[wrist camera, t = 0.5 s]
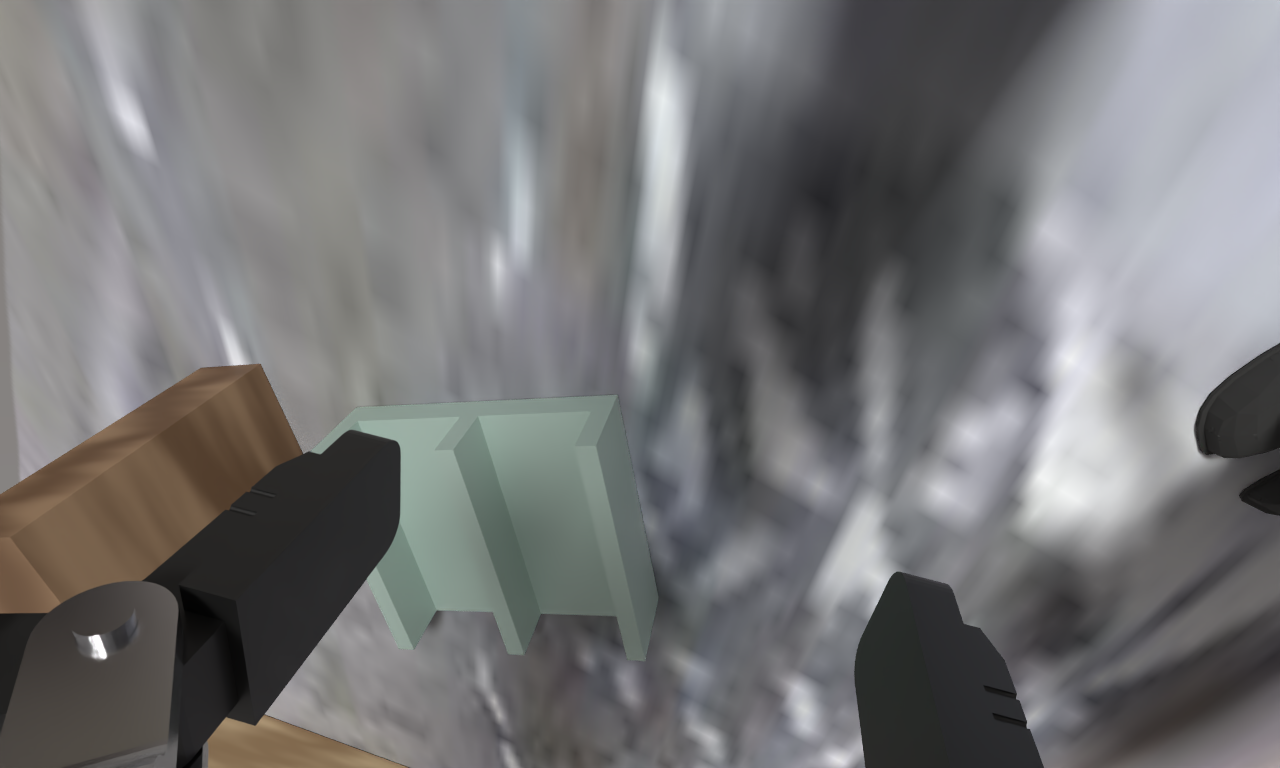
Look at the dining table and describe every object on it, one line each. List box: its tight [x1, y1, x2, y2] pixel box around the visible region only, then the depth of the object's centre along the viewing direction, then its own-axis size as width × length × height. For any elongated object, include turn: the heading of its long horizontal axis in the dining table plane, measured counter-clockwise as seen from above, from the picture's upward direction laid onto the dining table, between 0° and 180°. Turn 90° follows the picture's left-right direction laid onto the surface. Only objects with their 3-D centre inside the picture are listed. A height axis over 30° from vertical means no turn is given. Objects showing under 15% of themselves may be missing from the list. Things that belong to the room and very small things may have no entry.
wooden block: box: [0, 364, 303, 613], centre depth 33 cm, size 4×6×14 cm, turn 9°
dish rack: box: [310, 395, 659, 661], centre depth 37 cm, size 15×14×4 cm
